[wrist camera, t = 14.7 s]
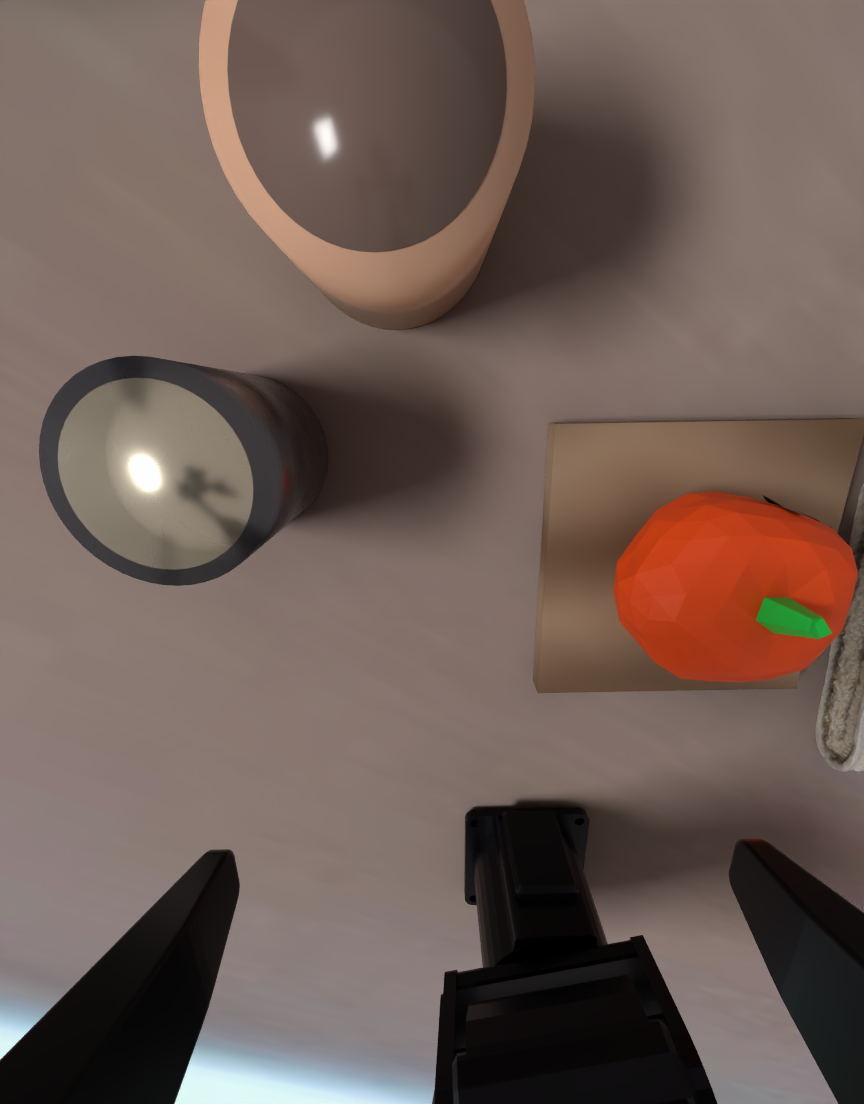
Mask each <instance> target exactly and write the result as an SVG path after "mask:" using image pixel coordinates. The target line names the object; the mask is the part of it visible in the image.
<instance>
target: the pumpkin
mask: <svg viewBox="0 0 864 1104" xmlns="http://www.w3.org/2000/svg"><path fill="white" fill-rule="evenodd" d="M763 497H764V499H765V500H766V501H767V502H764V501H761V500H757V499H754V498H750V497H746V496H739V495H733V494H727V493H721V492H714V491H708V492H699V493H689V494H685V495H684V496H682V497H680V498H678V499H676V500H674V501H672V502H671V503H669V504H667V505H665V506H663V507H661V508H659V509H658V510H656V511H655V513H654V514H653V515H652V516H651V518H650V519H649V520H648V521H647V522H646V524H645V525H644V526H643V527H642V528H641V530H640V531H639V532H638V533H637V535H636V536H635V537H634V539H633V540H632V542H631V543H630V544H629V546H628V547H627V549H626V550H625V551H624V553H623V554H622V556H621V557H620V558H619V560H618V561H617V566H616V573H615V580H614V587H613V594H614V598H615V603H616V607H617V612H618V617H619V621H620V623H621V624H622V625H623V626H624V628H625V629H626V630H627V631H628V632H629V633H630V635H631V636H632V637H633V638H634V639H635V640H636V641H637V643H638V644H639V645H640V646H641V647H642V648H643V650H644V651H645V652H646V653H647V654H648V655H649V656H650V658H651V659H652V660H653V661H654V662H655V663H656V664H658V665H659V666H661V667H663V668H664V669H666V670H668V671H669V672H671V673H672V674H674V675H676V676H677V677H679V678H682V679H692V680H702V681H716V682H750V681H762V680H772V679H775V678H778V677H781V676H785V675H788V674H791V673H794V672H797V671H800V670H803V669H806V668H807V667H808V666H809V665H810V664H811V663H812V662H813V661H814V660H815V659H816V658H817V657H818V656H819V655H821V654H822V653H823V652H824V651H825V650H826V648H827V647H828V646H829V645H830V644H831V643H832V642H833V640H834V639H835V638H836V637H837V636H838V635H839V634H840V632H841V631H842V630H843V627H844V624H845V621H846V617H847V614H848V611H849V607H850V604H851V600H852V596H853V593H854V589H855V585H856V581H857V577H858V570H857V566H856V563H855V559H854V554H855V553H854V552H853V551H852V548H851V547H850V546H849V545H848V544H847V543H846V542H845V541H844V540H843V539H842V538H841V537H840V536H839V535H838V534H837V533H836V532H835V531H834V530H833V529H832V527H831V526H830V525H829V526H830V527H829V526H827V525H825V524H823V523H821V522H820V521H819V520H817V519H814V518H812V517H810V516H808V515H806V514H804V515H802V514H803V513H802V512H801V513H802V514H800V513H797V512H794V511H795V510H794V511H792V510H789V509H788V508H787V509H786V508H784V507H783V506H781V505H779V504H778V503H776V502H774V501H773V500H771V499H769V498H767V497H766V496H764V495H763ZM805 515H806V516H805Z"/></svg>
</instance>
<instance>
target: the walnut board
mask: <svg viewBox="0 0 864 1104" xmlns="http://www.w3.org/2000/svg"><path fill="white" fill-rule="evenodd" d="M863 436H864V419H851V418H834V419H772V420H710V421H648V422H586V423H549V428H548V444H547V461H546V477H545V494H544V510H543V526H542V543H541V559H540V576H539V592H538V609H537V625H536V641H535V658H534V674H533V682H534V684H535V687H536V689H537V692H538V693H562V692H618V691H673V690H728V689H784V688H796V687H797V683H798V680H799V676H800V672H801V670H800V671H797V672H794V673H791V674H788V675H785V676H781V677H778V678H775V679H772V680H762V681H750V682H716V681H702V680H692V679H682V678H679V677H677V676H676V675H674V674H672V673H671V672H669V671H668V670H666V669H664V668H663V667H661V666H659V665H658V664H656V663H655V662H654V661H653V660H652V659H651V658H650V656H649V655H648V654H647V653H646V652H645V651H644V650H643V648H642V647H641V646H640V645H639V644H638V643H637V641H636V640H635V639H634V638H633V637H632V636H631V635H630V633H629V632H628V631H627V630H626V629H625V628H624V626H623V625H622V624H621V623H620V621H619V617H618V612H617V607H616V603H615V598H614V594H613V587H614V580H615V573H616V566H617V561H618V560H619V558H620V557H621V556H622V554H623V553H624V551H625V550H626V549H627V547H628V546H629V544H630V543H631V542H632V540H633V539H634V537H635V536H636V535H637V533H638V532H639V531H640V530H641V528H642V527H643V526H644V525H645V524H646V522H647V521H648V520H649V519H650V518H651V516H652V515H653V514H654V513H655V511H656V510H658V509H659V508H661V507H663V506H665V505H667V504H669V503H671V502H672V501H674V500H676V499H678V498H680V497H682V496H684V495H685V494H689V493H699V492H708V491H714V492H721V493H727V494H733V495H739V496H746V497H750V498H754V499H757V500H761V501H764V502H767V501H766V500H765V499H764V497H763V495H764V496H766V497H767V498H769V499H771V500H773V501H774V502H776V503H778V504H779V505H781V506H783V507H784V508H786V509H787V508H788V509H789V510H792V511H794V510H795V511H794V512H797V513H800V514H802V513H803V514H802V515H804V514H806V515H808V516H810V517H812V518H814V519H817V520H819V521H820V522H821V523H823V524H825V525H827V526H829V525H830V526H831V527H832V529H833V530H834V531H835V532H836V533H838V530H839V526H840V522H841V518H842V515H843V511H844V507H845V503H846V500H847V496H848V492H849V488H850V485H851V481H852V477H853V473H854V470H855V466H856V462H857V458H858V455H859V451H860V447H861V443H862V440H863ZM801 512H802V513H801ZM806 515H805V516H806ZM830 526H829V527H830Z"/></svg>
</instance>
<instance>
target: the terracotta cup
mask: <svg viewBox="0 0 864 1104" xmlns="http://www.w3.org/2000/svg"><path fill="white" fill-rule="evenodd" d="M199 75H200V87H201V97H202V102H203V107H204V113H205V118H206V123H207V126H208V130H209V133H210V137H211V140H212V143H213V147H214V150H215V152H216V154H217V157H218V159H219V162H220V164H221V167H222V169H223V171H224V173H225V175H226V177H227V179H228V181H229V183H230V185H231V186H232V188H233V190H234V192H235V194H236V195H237V197H238V198H239V200H240V201H241V203H242V204H243V206H244V207H245V208H246V210H247V211H248V213H249V214H250V216H251V217H252V218H253V219H254V220H255V221H256V222H257V224H258V225H259V226H260V227H261V228H262V229H263V230H264V232H265V233H266V234H267V235H268V236H269V237H270V238H271V239H272V240H273V241H274V242H275V243H276V244H277V246H278V247H279V248H280V249H281V250H282V251H283V252H284V253H285V254H286V255H287V256H288V257H289V258H290V259H291V260H292V261H293V263H294V264H295V265H296V266H297V267H298V268H299V269H300V270H301V271H302V272H303V273H304V274H305V275H306V276H307V277H308V279H309V280H310V281H311V282H312V283H313V284H314V285H315V286H316V287H317V288H318V289H319V290H320V291H321V292H322V293H323V295H324V296H325V297H326V298H327V299H328V300H329V301H330V302H331V303H332V304H334V305H335V306H336V307H337V308H338V309H339V310H341V311H342V312H343V313H345V314H346V315H348V316H349V317H351V318H353V319H355V320H357V321H359V322H361V323H363V324H366V325H369V326H372V327H376V328H381V329H390V330H401V329H410V328H414V327H419V326H422V325H424V324H427V323H430V322H432V321H434V320H436V319H437V318H439V317H441V316H443V315H444V314H445V313H447V312H448V311H449V310H451V309H452V308H453V307H454V306H455V305H456V304H457V303H458V302H459V301H460V300H461V299H462V298H463V297H464V295H465V294H466V293H467V292H468V290H469V289H470V288H471V286H472V284H473V283H474V281H475V279H476V277H477V276H478V273H479V271H480V269H481V267H482V264H483V262H484V259H485V257H486V254H487V252H488V249H489V246H490V244H491V241H492V239H493V236H494V233H495V231H496V228H497V226H498V223H499V220H500V218H501V215H502V213H503V210H504V207H505V205H506V202H507V200H508V197H509V195H510V192H511V189H512V187H513V184H514V182H515V179H516V176H517V174H518V171H519V169H520V166H521V162H522V159H523V156H524V153H525V150H526V146H527V143H528V138H529V133H530V128H531V123H532V118H533V108H534V98H535V59H534V51H533V42H532V34H531V29H530V25H529V20H528V16H527V11H526V7H525V4H524V1H523V0H206V2H205V6H204V10H203V16H202V24H201V32H200V40H199Z"/></svg>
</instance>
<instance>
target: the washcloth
mask: <svg viewBox="0 0 864 1104" xmlns="http://www.w3.org/2000/svg"><path fill="white" fill-rule="evenodd" d="M849 546H850V547H851V548H852V551H853V552H854V553H855V554H854V559H855V563H856V566H857V570H858V577H857V581H856V585H855V589H854V593H853V596H852V600H851V604H850V607H849V611H848V614H847V617H846V621H845V624H844V627H843V630H842V631H841V632H840V634H839V635H838V636H837V637H836V638H835V639H834V640H833V642H832V643H831V648H830V653H829V665H828V669H827V672H826V677H825V684H824V688H823V691H822V696H821V702H820V706H819V711H818V717H817V723H816V742H817V746H818V749H819V751H820V753H821V755H822V756H823V758H824V759H825V761H826V762H827V764H828V765H829V766H831V767H832V768H835V769H837V770H840V771H849V770H855V771H864V484H863V486H862V487H861V492H860V494H859V497H858V505H857V508H856V514H855V517H854V522H853V526H852V533H851V536H850V543H849Z"/></svg>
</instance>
